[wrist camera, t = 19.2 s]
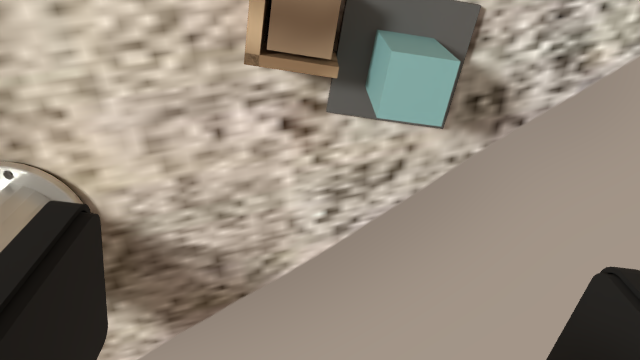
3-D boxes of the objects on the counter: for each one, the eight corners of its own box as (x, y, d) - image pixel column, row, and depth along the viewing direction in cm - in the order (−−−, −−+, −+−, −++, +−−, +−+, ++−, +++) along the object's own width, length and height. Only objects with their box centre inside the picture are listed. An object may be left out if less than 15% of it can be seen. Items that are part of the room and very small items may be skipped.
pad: (441, 126, 40) (443, 129, 39) (326, 109, 39) (326, 112, 38) (478, 4, 35) (481, 5, 35) (349, -19, 34) (349, -18, 34)
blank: (419, 94, 38) (441, 126, 32) (365, 86, 38) (376, 117, 31) (434, 38, 36) (460, 61, 30) (376, 29, 35) (391, 51, 29)
